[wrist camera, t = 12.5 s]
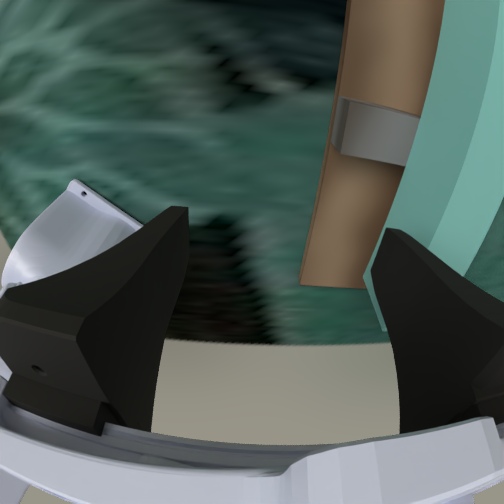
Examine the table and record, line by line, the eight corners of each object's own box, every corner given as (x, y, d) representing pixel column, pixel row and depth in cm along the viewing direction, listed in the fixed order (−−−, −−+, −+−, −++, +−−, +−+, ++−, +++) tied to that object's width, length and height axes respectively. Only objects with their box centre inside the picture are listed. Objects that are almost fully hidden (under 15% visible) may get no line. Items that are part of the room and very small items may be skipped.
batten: (403, 281, 21) (427, 332, 17) (362, 276, 21) (382, 330, 17) (490, 16, 10) (546, 20, 6) (446, -11, 9) (500, -19, 5)
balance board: (298, 276, 26) (303, 307, 23) (352, -61, 11) (369, -79, 8) (421, 284, 26) (435, 310, 23) (498, 5, 11) (528, 5, 8)
